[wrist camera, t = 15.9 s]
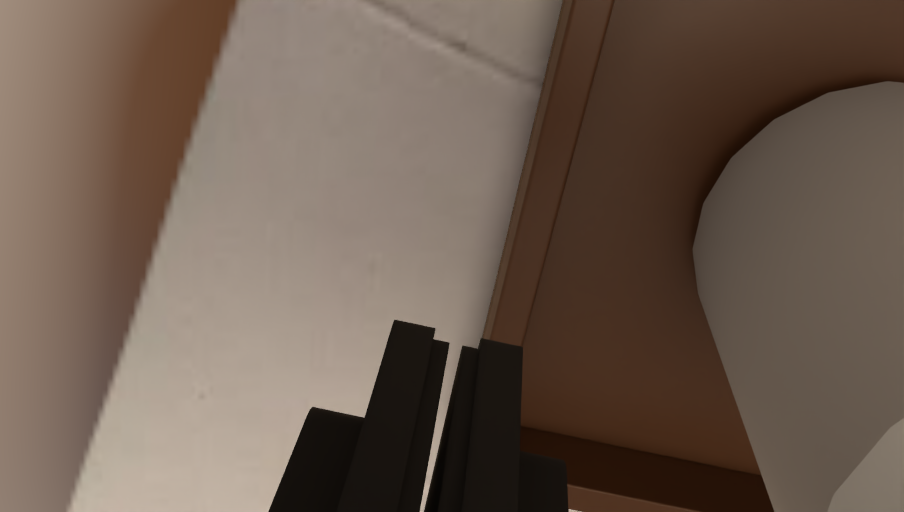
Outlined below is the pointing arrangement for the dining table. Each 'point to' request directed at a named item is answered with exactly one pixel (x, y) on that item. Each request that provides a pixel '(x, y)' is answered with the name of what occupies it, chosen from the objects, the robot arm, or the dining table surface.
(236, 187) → the dining table surface
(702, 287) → the can
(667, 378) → the tray
